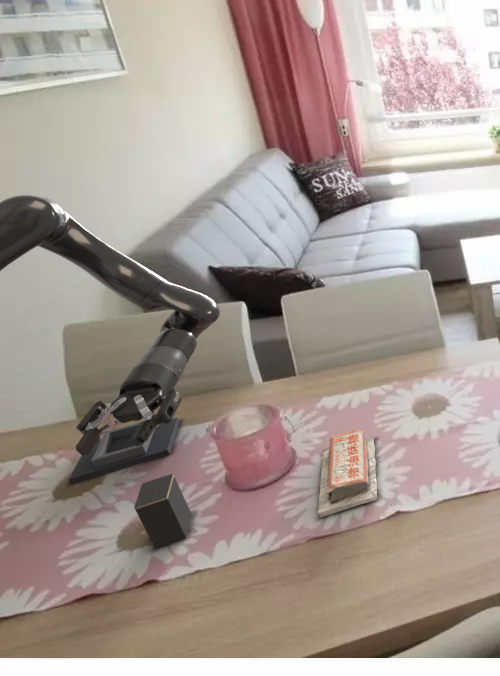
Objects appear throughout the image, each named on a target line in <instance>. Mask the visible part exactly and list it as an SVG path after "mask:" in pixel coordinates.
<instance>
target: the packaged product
mask: <svg viewBox="0 0 500 676" xmlns="http://www.w3.org/2000/svg"><path fill="white" fill-rule="evenodd" d="M329 438H330V439H329V446H328V447H326V448H324V449H323V450H322V457H321V472H320V473H321V474H320V482H319V483H320V484H319V496H318V507H317V508H318V510H317V514H318V516H319V517H320V518H325V517H327V516H331V515H334V514H336V513H339V512H342V511H345V510H348V509H352V508H354V507H357V506H361V505H364V504H367V503H371V502H375V501H378V490H377V489H378V488H377V487H378V486H377V474H376V473H377V472H376V466H377V465H376V463H377V460H376V455H375V454H376V448H375V447H376V446H375V437H374V436H369V437H365V433H364V431H363V430H361V429H360V430H357V429H353V430H350V431H347V432H342V433H339V434H336V435H332V436H330V437H329Z"/></svg>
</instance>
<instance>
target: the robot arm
mask: <svg viewBox="0 0 500 676" xmlns="http://www.w3.org/2000/svg"><path fill="white" fill-rule="evenodd" d="M37 247H39V248H41V249H44V250H46V251H48V252H51V253H53V254H55V255H56V256H60V257H61V258H63V259H65V260H67V261H69V262H71V263H72V264H74V265H76V266H77V267H78V268H80V269H81V270H82V271H84V272H86V273H87V274H89V275H90V276H91V277H93V278H94V280H95V281H97V282H99V283H100V284H102V285H103V286H104V287H106V288H107V289H109V290H110V291H112V292H113V293H114V294H116V295H118V296H120V297H121V298H123V299H125V300H126V301H128V302H129V303H131V304H133V305H135V306H136V307H138V308H139V309H142V310H143V311H147V312H153V311H156V310H158V309H160V308H166V309H170V310H172V312H171V313H170V314H169V315H168V316H167V317H166V318H165V320H164V321H163V323H162V325H161V326H160V329H159V331H158V333H157V336H156V337H155V339H154V340H153V342H152V343H151V345H150V346H149V347H148V349H147V350H146V351H145V353H144V354H143V355H141V357H140V358H139V359H138V360H137V362H136V363H135V365H134V366H133V367H132V369H131V370H130V372H129V373H128V375H127V376H126V377H125V379H124V380H123V382H122V384H121V385H120V387H119V395H118V396H117V397H116V399H113V401H112V402H107V403H104V401H102V400H98V401H96V402H95V403H94V404H93V405H92V406H91V407H90V409H89V410H88V412H86V414H85V415H84V416H83V418H82V419H81V420H80V422H79V423H78V424H77V425H76V427H75V429H77V430H78V431H79V432H80V433H81V434H82V437H81V438H80V439H79V441H78V442H77V443H76V445H75V450H76V452H77V453H78V454H80V455H82V456H84V455H88V454H90V452H91V451H92V449H93V448H94V446H95V445H96V443H97V442H98V440H99V439H101V437H102V436H103V435H104V433H105V432H107V431H109V430H113V429H117V428H119V427H120V426H121V425H123V424H126V423H130V422H141V423H140V424H139V426H138V428H137V429H136V431H135V433H134V434H133V436H132V437H131V442H132V443H133V444H134V445H135V446H142V445H143V444H144V442H146V441H147V440H148V438H149V436H150V435H151V433H152V432H153V430H154V428H156V427H158V426H159V424H161V423H165V424H167V423H169V422H171V420H172V419H174V416H175V414H176V412H177V410H178V408H179V406H180V404H181V402H182V400H183V397H182V396H181V395H180V393H179V392H178V391H177V390H176V389H175V387H176V386H177V384H178V383H179V381H180V379H181V378H182V376H183V374H184V372H185V369H186V367H187V364H188V363H189V362H190V359H191V358H192V356H193V354H194V353H195V351H196V348H197V344H198V341H197V339H198V338H199V336H200V335H201V334H202V333H203V332H204V331H206V330H207V329H208V328H209V327H210V326H212V325H213V324H214V323H215V322H216V321H217V320H218V319H219V318H220V315H221V310H220V306H219V305H218V303H217V302H216V301H215V300H214V299H212V298H211V297H209V296H208V295H206V294H203V293H201V292H198V291H196V290H193V289H190V288H187V287H185V286H181V285H180V284H176V283H172V282H170V281H169V280H167V279H165V278H164V277H162V276H161V275H160V274H158V273H156V272H154V271H153V270H151V269H150V268H148V267H146V266H145V265H143V264H141V263H139V262H138V261H136V260H134V259H132V258H131V257H129V256H128V255H125V254H124V253H122V252H121V251H119V250H117V249H115V248H114V247H112V246H110V245H109V244H107V243H106V242H104V241H103V240H101V239H100V238H98V237H97V236H95V235H94V234H93V233H91V231H89V230H88V229H86V228H85V227H84V226H83V225H81V224H80V223H79V222H78V220H75V219H74V218H73V217H72V216H71V215H70V214H68V212H66V210H64V208H62V206H61V205H60V204H59V203H57V202H55V201H54V200H53V199H49V198H46V197H43V196H38V195H33V194H32V195H31V194H21V195H19V194H18V195H13V196H10V197H7V198H4V199H3V200H1V201H0V272H1V271H2V270H4V269H5V268H7V266H9V265H10V264H12V263H13V262H15V261H16V260H18V259H20V258H21V257H22V256H24V255H25V254H27V253H28V252H30V251H32V250H33V249H35V248H37ZM157 409H158V410H157ZM156 410H157V412H156ZM111 415H112V417H113V418H114V419H115V420H113V421H112V420H111V419H110V418H109V417H110V416H111ZM142 419H143V422H142ZM102 424H104V425H103V426H102V427H100V428H98V427H99V426H100V425H102Z"/></svg>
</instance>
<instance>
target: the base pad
mask: <svg viewBox="0 0 500 676" xmlns="http://www.w3.org/2000/svg"><path fill="white" fill-rule="evenodd" d="M143 421H144V420H143ZM143 421H142V420H141V421H138V422H136V423H135V422H134V423H131V424H127V425H123V426H119V427H117V428H115V429H110V430H108V431H107V432H105V433H104V434H103V435H102V437H101V438H100V439H99V440H98V442H97V443H96V445H95V446H94V448H93V449H92V451H91V452H90V454H88V455H84V456H82V455H81V454H80V455H81V456H80V457H79V459H78V461H77V463H76V465H75V466H74V469H73V471H72V473H71V475H70V477H69V478H68V479H69V481H70V483H71V485H74V484H78V483H79V482H84V481H87V480H90V479H94V478H97V477H100V476H104V475H107V474H110V473H114V472H117V471H120V470H124V469H127V468H130V467H133V466H136V465H140V464H143V463H146V462H150V461H153V460H156V459H159V458H163V457H167V456H170V454H171V452H172V449H173V445H174V441H175V439H176V438H175V437H176V435H177V432H178V429H179V425H180V419H179V417H173V418H172V420H171V422H169V423H167V424H165V423H161V424H159V426H158V427H156V428H154V430H153V432H152V433H151V435H150V436H149V438H148V440H147V441H146V442H144V444H143V445H142V446H135V445H134V444H133V443H132V442H131V437H132V436H133V434H134V433H135V431H136V429H137V428H138V426H139V424H140V423H141V422H143Z"/></svg>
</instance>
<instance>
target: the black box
mask: <svg viewBox="0 0 500 676" xmlns="http://www.w3.org/2000/svg"><path fill="white" fill-rule="evenodd" d="M136 498H137V499H136V501H135V503H134V506H133V509H134V510H135V513H136V514H137V516H138V518H139V521H140V522H141V524H142V526H143V527H144V530H145V531H146V533H147V535H148V538H149V539H150V542H151V543H152V545H153V547H154V549H155V550H158V549H161V548H163V547H166V546H169V545H172V544H175V543H178V542H180V541H183V540H186V539H187V538H188V534H189V533H188V532H189V528H190V524H191V519H192V514H193V513H192V512H191V509H190V507H189V505H188V502H187V501H186V498H185V497H184V494H183V492H182V490H181V488H180V485H179V483H178V481H177V479H176V476H175V474H174V473H170V474H168V475H164V476H161V477H158V478H154V479H151V480H148V481H145V482H143V483H141V486H140V489H139V492H138V495H137V497H136Z"/></svg>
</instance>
